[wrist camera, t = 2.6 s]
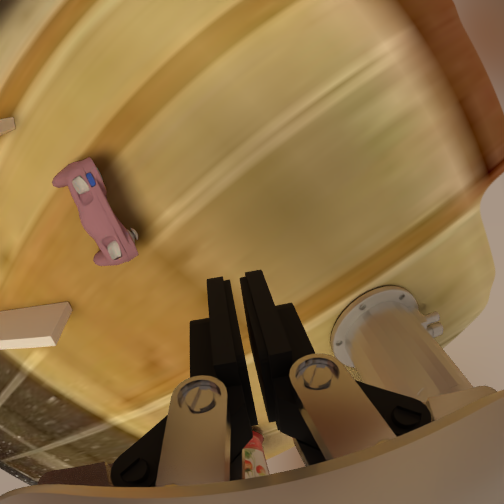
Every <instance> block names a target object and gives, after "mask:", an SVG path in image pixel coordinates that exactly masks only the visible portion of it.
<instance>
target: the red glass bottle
mask: <svg viewBox="0 0 504 504" xmlns="http://www.w3.org/2000/svg"><path fill="white" fill-rule="evenodd" d="M252 432H253V438H252V439H251V440H250V441H249V443H248V444H247V445H246V446H245V447H244V451H245V479H247V478H254V477H259V476H265V475H270V474H269V470H268V467H267V463H266V459H265V455H264V451H263V447H262V443H263V440H264V438H263V436H262V435H261V434H259V433H257V432H255V431H252Z"/></svg>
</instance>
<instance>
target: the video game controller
mask: <svg viewBox="0 0 504 504" xmlns="http://www.w3.org/2000/svg"><path fill="white" fill-rule="evenodd" d="M52 184H53V186H55V187H58V188H60V187H64V186H68V187H69V190H70V192H71V195H72V197H73V199H74V201H75V203H76V205H77V207H78V211H79V216H80V220H81V223H82V225H83V227H84V229H85V230H86V232H87V233H88V234H89V235H90V236H91V237H92V238H93V239H94V240H95V241H96V243H97V245H98V246H99V248H100V251H99V252H98V253H96V254H95V256H94V259H93V261H94V262H95V264H97V265H99V266H107V265H119V264H122V263H124V262H127V261H130V260H131V259H133V258H134V257H136V256H137V255H138V252H137V249H136V247H135V243H134V242H135V239H136V240H138V234H137V232H136V231H135V230H134V229H132V228H130V229H131V232H130V231H129V230H127V229H126V228H125V227H124V226H123V224H122V223H121V222H120V221H119V220H118V219H117V217H116V216H115V214H114V213H113V211H112V209H111V207H110V205H109V203H108V202H107V197H106V193H107V191H106V187H105V185H104V183H103V179H102V176H101V174H100V172H99V170H98V168H97V167H96V166H95V164H94V162H93V161H92V159H91V158H90V157H88V158H86V159H84V160H82V161H77V162H73V163H71V164H69V165H68V166H66V167H65V168H64V169H63V170H61V171H60V172H59V173H58V174H57V175H56V176H55V177H54V178H53V181H52ZM134 237H135V239H134Z"/></svg>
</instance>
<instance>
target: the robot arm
mask: <svg viewBox="0 0 504 504" xmlns="http://www.w3.org/2000/svg"><path fill="white" fill-rule="evenodd" d="M245 276H246V277H242V278H240V284H241V290H242V296H243V303H244V309H245V315H246V321H247V327H248V333H249V339H250V345H251V349H252V353H253V358H254V362H255V366H256V371H257V375H258V379H259V383H260V387H261V392H262V396H263V400H264V404H265V408H266V412H267V416H268V420H269V423H270V422H275V421H276V425H277V428H278V430H280V431H281V432H282V433H284V434H286V435H289V436H291V437H292V438H293V441H294V444H295V446H296V448H297V450H298V452H299V454H300V456H301V458H302V460H303V462H304V464H305V466H306V467H302V468H298V469H294V470H289V471H285V472H280V473H275V474H270V475H265V476H259V477H254V478H247V479H245V451H244V447H245V446H246V445H247V444H248V443H249V441H250V440H251V439H252V438H253V432H252V427H251V426H254V425H258V421H257V416H256V411H255V406H254V401H253V396H252V391H251V386H250V381H249V376H248V371H247V365H246V360H245V355H244V350H243V345H242V340H241V335H240V330H239V325H238V320H237V315H236V310H235V305H234V300H233V294H232V289H231V284H230V280H225V281H223V277H217V278H211V279H207V293H208V307H209V318H206V319H200V320H193V321H190V378H188V379H186V380H184V381H183V382H181V383H180V384H179V385H178V386H177V387H176V388H175V389H174V391H173V394H172V396H171V401H170V406H169V411H168V415H167V416H166V417H165V418H164V419H162V420H161V421H160V422H159V423H158V424H157V425H156V426H154V427H153V428H152V429H151V430H150V431H149V432H147V433H146V434H145V435H144V436H143V437H142V438H140V439H139V440H138V441H137V442H136V443H135V444H133V445H132V446H131V447H130V448H129V449H127V450H126V451H125V452H124V453H123V454H121V455H120V456H119V457H118V458H117V459H116V460H115V462H114V463H112V464H107V463H106V462H101V463H96V464H91V465H85V466H80V467H74V468H67V469H61V470H54V471H50V472H47V473H45V474H44V475H43V476H42V477H41V478H40V480H39V481H38V484H37V485H33V486H27V487H22V488H19V489H15V490H12V491H9V492H7V493H5V494H3V495H1V496H0V504H504V390H502V391H498V392H497V391H496V390H495V389H493V388H491V387H488V386H478V387H473V386H472V385H471V384H470V382H469V381H468V380H467V378H466V377H465V376H464V375H463V373H462V372H461V371H460V370H459V368H458V367H457V366H456V365H455V363H454V362H453V361H452V360H451V359H450V357H449V356H448V355H447V354H446V353H445V351H444V350H443V349H442V348H441V346H440V345H439V344H438V343H437V342H436V341H435V339H434V337H437V336H439V335H442V333H443V326H442V324H441V323H440V322H437V321H439V318H440V317H439V314H438V312H433V313H430V314H428V315H425V316H424V315H422V314H421V313H420V312H419V309H418V304H417V302H416V299H415V298H414V297H413V296H412V295H411V294H410V293H409V292H408V291H407V290H406V289H403V288H401V287H397V286H385V287H381V288H377V289H374V290H372V291H370V292H367V293H366V294H364V295H362V296H361V297H359V298H358V299H356V300H355V301H354V302H353V303H351V304H350V305H349V306H348V307H347V308H346V309H345V310H344V312H343V313H342V314H341V316H340V317H339V318H338V320H337V322H336V324H335V326H334V328H333V331H332V334H331V348H332V351H333V353H334V355H335V357H336V358H335V357H333V356H331V355H326V354H315V352H314V349H313V347H312V345H311V343H310V341H309V338H308V336H307V334H306V332H305V330H304V327H303V325H302V323H301V321H300V319H299V316H298V314H297V312H296V310H295V308H294V306H293V304H292V303H287V304H282V305H277V306H275V304H274V302H273V299H272V296H271V294H270V291H269V288H268V286H267V283H266V280H265V278H264V275H263V272H262V270H257V271H251V272H245ZM434 322H436V323H434ZM431 323H433V324H431ZM428 324H430V325H428ZM427 325H428V326H427ZM343 364H344V365H346V366H349V367H355V368H356V369H357V371H358V373H359V375H360V377H361V379H362V380H363V382H364V383H362V382H359V381H356V380H354V378H353V377H352V376H351V374H350V373H349V372H348V370H347V369H346V368H345V366H344V365H343Z"/></svg>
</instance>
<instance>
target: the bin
mask: <svg viewBox="0 0 504 504" xmlns="http://www.w3.org/2000/svg"><path fill="white" fill-rule="evenodd" d="M14 129H15V123H14V117H11V118H5V119H0V135H3V134H5V133H7V132H9V131H11V130H14ZM71 312H72V309H71V306H70V304H69V302H62V303H55V304H49V305H42V306H35V307H28V308H21V309H14V310H7V311H0V349H17V348H32V347H46V346H56V344H57V342H58V340H59V338H60V335H61V333H62V331H63V329H64V327H65V325H66V323H67V321H68V318H69V316H70V314H71Z"/></svg>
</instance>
